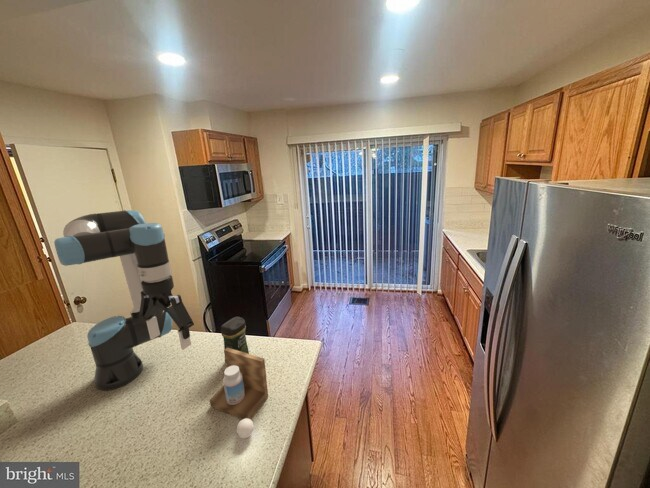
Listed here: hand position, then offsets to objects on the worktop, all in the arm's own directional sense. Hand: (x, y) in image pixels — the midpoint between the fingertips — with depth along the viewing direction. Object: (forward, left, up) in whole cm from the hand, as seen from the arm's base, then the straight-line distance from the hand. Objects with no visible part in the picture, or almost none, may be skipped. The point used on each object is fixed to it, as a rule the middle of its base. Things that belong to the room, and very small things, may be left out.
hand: (170, 341), depth 80 cm
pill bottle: (+15, +8, -24) cm, 29 cm away
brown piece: (+15, +10, -27) cm, 32 cm away
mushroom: (+25, +1, -27) cm, 37 cm away
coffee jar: (0, +26, -27) cm, 37 cm away
